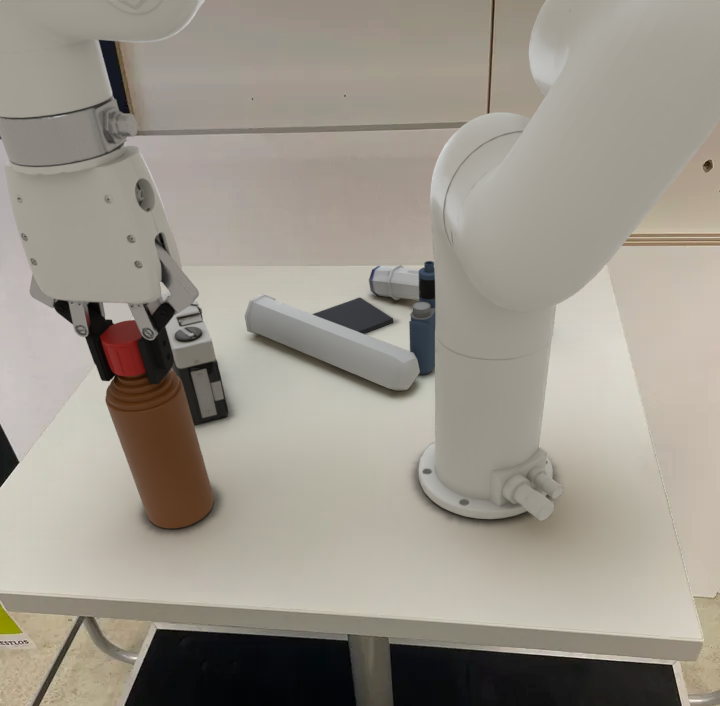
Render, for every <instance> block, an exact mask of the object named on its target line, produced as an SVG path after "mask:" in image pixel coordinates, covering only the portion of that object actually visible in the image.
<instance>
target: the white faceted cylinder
mask: <svg viewBox="0 0 720 706" xmlns="http://www.w3.org/2000/svg"><path fill="white" fill-rule="evenodd" d="M419 270H420V269H413V268H408V267H407V268H406V267H404V266H403V265H401V264H399V263H398V264H397V265H395V266H387V265H377V266H376V267H374V268H372V269H371V272H370V274H369V279H368V284H369V289H370V292H371V293H373V295H375V296H378V297H387V298H391V299H393V300H395V301H399V300H401V299H405V300H413V301H414V300H416V301H419V279H420V278H419Z"/></svg>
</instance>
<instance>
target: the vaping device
mask: <svg viewBox="0 0 720 706" xmlns="http://www.w3.org/2000/svg"><path fill="white" fill-rule="evenodd" d="M418 270H419V278H420V279H419V300H418V301H417V302H415V303H413V304H412V311H411V312H410V314H409V315H410V320H409V322H408V323H409V351H410V352H413V353H414V354H415V356H416V358H417V360H418V365H419V369H420V373H419V374H418V375H427V374H430V373H431V372H432V371H433V369H435V270H434V260H433V261H432V260H427V261H425V262H424V265H423V267H422V268H420V269H418Z"/></svg>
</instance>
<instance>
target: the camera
mask: <svg viewBox="0 0 720 706" xmlns="http://www.w3.org/2000/svg"><path fill="white" fill-rule="evenodd" d="M161 296H162V299H163V301H164V300H165V299H166V298H167V297H168V296H171V294H170V291H169V292H164V293H161ZM165 327H166V331H167V334H168V338H169V342H170V345H171V349H172V353H173V357H174V363H173V366H172V368H171V369H170V370H172V371H173V372H175V373H176V375H177V376H178V377H179V378H180V379H181V381H182V384H183V387H184V391H185V394H186V398H187V402H188V405H189V409H190V413H191V416H192V420H193V423H194V426H195V425H200V424H204V423H208V422H211V421H215V420H220V419H224V418H227V417H228V413H229V408H228V402H227V399H226V394H225V390H224V385H223V381H222V377H221V371H220V368H219V362H218V360H217V357H216V352H215V348H214V344H213V339H212V337H211V335H210V332H209V331H208V328H207V326H206V324H205V322H204V317H203V310H202V307H201V306H200V304H199V303H198V301H197V300H195V301H194V302H193V303H192V304H191V305H190V306H188V307H187V308H185V309H184V310H182V311H181V312H179V313H177V314H176V315H174V316H173V317H172V319H171V320H170V321H169V323H168V324H167V325H166V326H165Z"/></svg>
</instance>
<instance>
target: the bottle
mask: <svg viewBox="0 0 720 706" xmlns="http://www.w3.org/2000/svg"><path fill="white" fill-rule="evenodd" d="M105 391H106V392H105V398H104V400H105V404H106V407H107V410H108V412H109V415H110V418H111V420H112V423H113V426H114V429H115V432H116V435H117V437H118V440H119V443H120V446H121V448H122V451H123V453H124V456H125V459H126V462H127V465H128V468H129V470H130V473H131V476H132V479H133V482H134V484H135V487H136V489H137V492H138V495H139V498H140V500H141V504H142V506H143V508H144V511H145V514H146V516H147V519H148V520H149V522H150V523H152V524H153V525H155V526H157V527H160V528H164V529H179V528H181V529H182V528H184V527H188V526H191V525H193V524H195V523H197V522H199V521H200V520H202V519H204V518H205V517H206V516H207V515H208V514H209V512H210V511H211V510H212V508H213V507H214V503H215V497H214V493H213V489H212V485H211V482H210V479H209V475H208V471H207V467H206V463H205V460H204V457H203V452H202V449H201V446H200V441H199V438H198V434H197V431H196V428H195V425H194V423H193V420H192V416H191V413H190V409H189V405H188V402H187V398H186V394H185V391H184V387H183V384H182V381H181V379H180V378H179V377H178V376H177V375H176V373H175V372H173V371H172V370H170V371H169V372H168V373H167V375H166V376H165V377H164V378H163V380H162V381H161V382H160V384H151V382H149V380H148V377H147V374H146V372H145V373H143V374H139V375H135V376H119V375H115V376H114V377H113V379H112V380H110V383H109V385H108V386H107V388H106V390H105Z"/></svg>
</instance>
